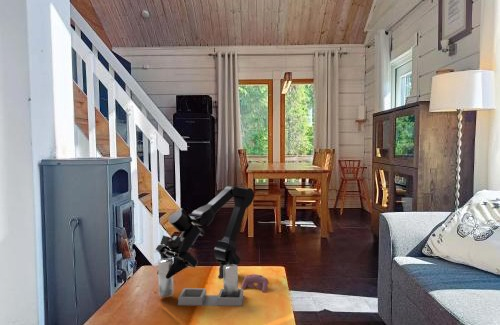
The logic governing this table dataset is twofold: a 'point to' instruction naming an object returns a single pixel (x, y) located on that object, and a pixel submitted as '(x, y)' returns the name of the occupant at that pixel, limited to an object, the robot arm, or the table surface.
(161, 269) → the cylinder
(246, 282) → the video game controller
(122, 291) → the table surface
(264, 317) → the table surface
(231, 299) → the grey socket holder
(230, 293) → the billet
